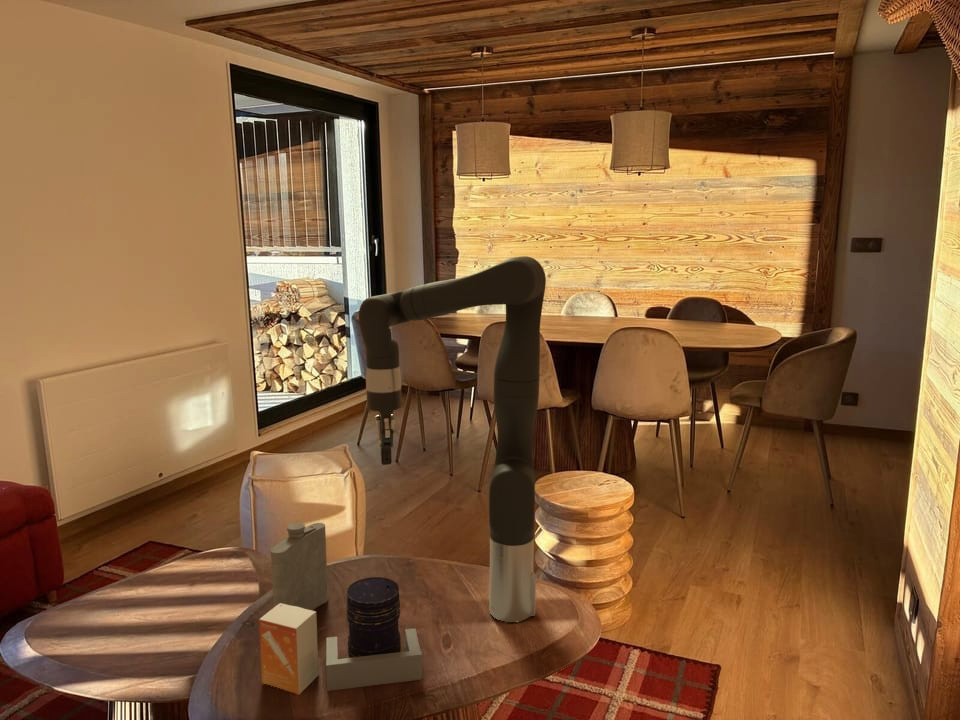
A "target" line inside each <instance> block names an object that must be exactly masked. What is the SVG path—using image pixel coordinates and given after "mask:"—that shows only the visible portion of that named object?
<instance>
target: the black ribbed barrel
mask: <svg viewBox="0 0 960 720" xmlns="http://www.w3.org/2000/svg"><path fill="white" fill-rule="evenodd" d="M400 608H401V599H400V586H399V584H398V582H396V581H395V580H393V579H390V578H389V577H388V578H387V577H381V576H380V577H379V576H371V577H365V578H361V579H358V580H356V581H354V582H352V583H351V584H350V585H349V586H348V587H347V589H346V618H347V622H348V633H349V634H348V635H347V642H346V643H347V655H348V658H353V657H362V656H370V655H379V654H388V653H397V652H401V650H402V648H401V647H402V646H401V645H402V643H401V633H400V629H399V628H400V627H399V619H400V617H401V616H400V615H401V609H400Z"/></svg>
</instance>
